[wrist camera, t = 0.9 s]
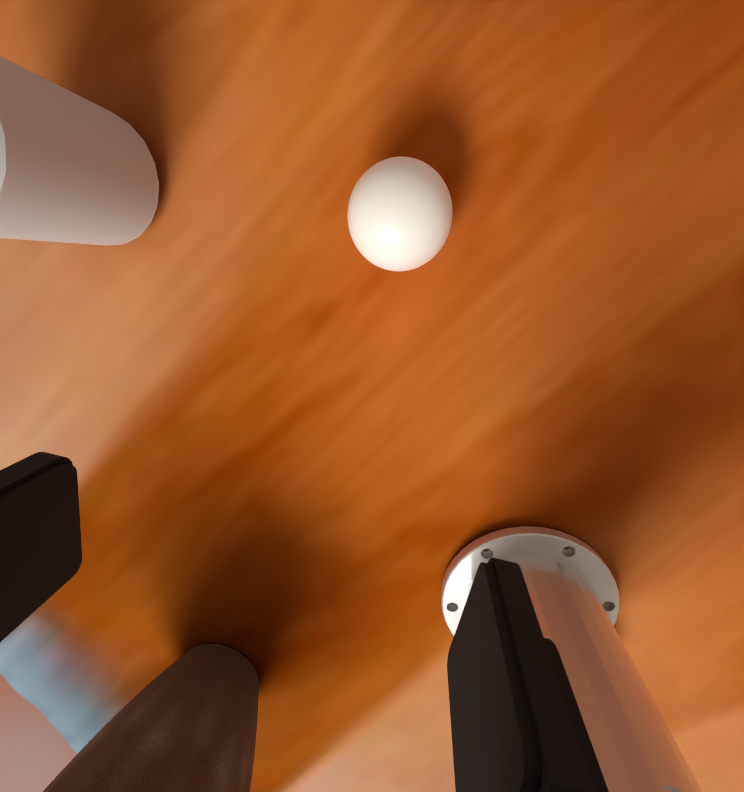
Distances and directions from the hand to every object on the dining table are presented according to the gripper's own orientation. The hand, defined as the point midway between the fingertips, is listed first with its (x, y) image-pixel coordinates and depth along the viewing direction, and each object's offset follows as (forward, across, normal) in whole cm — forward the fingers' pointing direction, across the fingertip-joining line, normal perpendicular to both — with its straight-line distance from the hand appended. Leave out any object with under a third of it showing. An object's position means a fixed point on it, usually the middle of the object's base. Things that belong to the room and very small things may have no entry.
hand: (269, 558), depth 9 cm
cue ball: (+16, 0, -9) cm, 18 cm away
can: (+19, +18, -8) cm, 27 cm away
